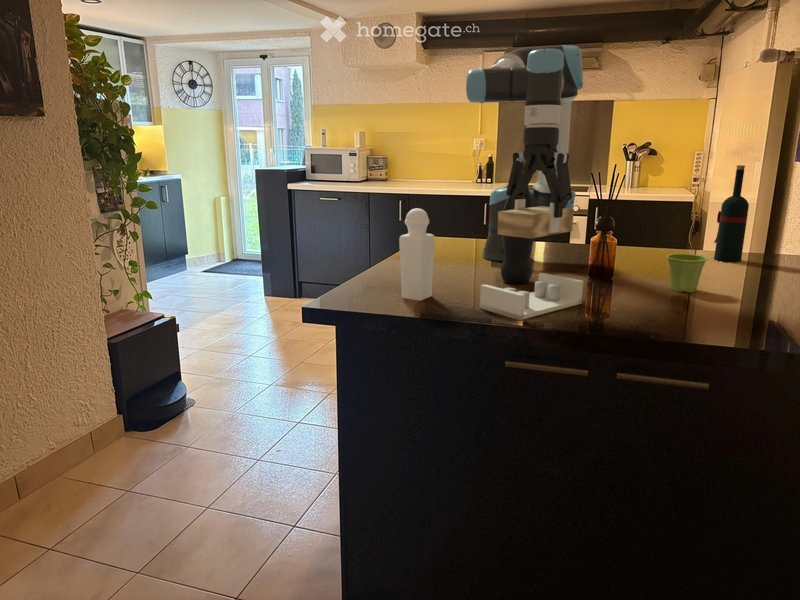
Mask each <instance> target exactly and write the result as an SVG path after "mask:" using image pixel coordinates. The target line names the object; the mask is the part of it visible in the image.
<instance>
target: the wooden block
mask: <svg viewBox="0 0 800 600" xmlns="http://www.w3.org/2000/svg"><path fill="white" fill-rule="evenodd" d="M574 211H575V209H574V208H573V209H567V208H563V215H562V217H560V221H559V232H555V233H548V229H549V212H550V207H543V206H539V207H531V208H523V209H515V210H507V211H499V212H498V234H501V235H508V236H516V237H523V238H534V239H536V238H541V237H546V236H552V235H557V234H562V233H569V232H573V225H574V214H575V213H574Z"/></svg>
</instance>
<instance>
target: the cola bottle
mask: <svg viewBox="0 0 800 600" xmlns="http://www.w3.org/2000/svg"><path fill="white" fill-rule="evenodd" d="M522 172H523V171H522ZM530 191H531V190H530V188H529V186H528V187H527V189H526V191H525V193H524V195H523V196H524V198H521V199H525V208H531V207H535V205H534V201H533V198H532V196H531V193H530ZM507 210H513V198H512V197H511V196H508V198H507V201H506V203H505V206H504V211H507ZM502 239H503V248H504V261H502V264H501V268H500V274H501V275H500V276H501V279H502V280H503V282H505V283H508V284H511V285H512V284H513V285H521V284H522V285H523V284H527V283H528V282H529V281H530V280H531V278H532V275H533V265H532V262H531V255H532V250H533V245H534V241H535V238H523V237H516V236H508V235H502Z"/></svg>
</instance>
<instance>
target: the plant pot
mask: <svg viewBox="0 0 800 600" xmlns="http://www.w3.org/2000/svg"><path fill="white" fill-rule="evenodd" d="M666 258H667V263H668V265H669V266H668V267H669V287H670V290H672V291H675V292H678V293H679V292H680V293H681V292H686V293H692V292H693V293H694V292H696V291H697V289H698V285H699V283H700V282H699V281H700V278H701V275H702V271H703V267H704V266H705V265H706V261H707V260H708V257H706V256H703V255H699V254H693V253H692V254H691V253H690V254H689V253H671V254H668V255H666Z"/></svg>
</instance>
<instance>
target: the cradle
mask: <svg viewBox="0 0 800 600" xmlns="http://www.w3.org/2000/svg"><path fill="white" fill-rule="evenodd" d="M583 289H584V280H580V279H575V278H571V277H566V276H562V275H557V274H556V275H555V274H551V273H547V272H539V273H538V280H536V281H535V282H534V291H532V292H530V291H526V290H519V291H517V289H516V288H514V287H504V288H501V287H497V286H494V285H489V284H486V283H485V284H481V285H480V292H479V294H480V295H479V296H480V297H479V309H481V310H484V311H488V312H491V313H494V314H497V315H499V316H500V315H501V316H503V317H504V316H505V317H507V318H511V319H515V320H518V321H522V320H526V319H529V318H532V317H533V318H534V317H536V316H541V315H544V314H548V313H551V312H555V311H558V310H559V311H560V310H563V309H566V308H569V307H573V306H577V305H580V304H581V305H582V302H583V292H584V291H583Z"/></svg>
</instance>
